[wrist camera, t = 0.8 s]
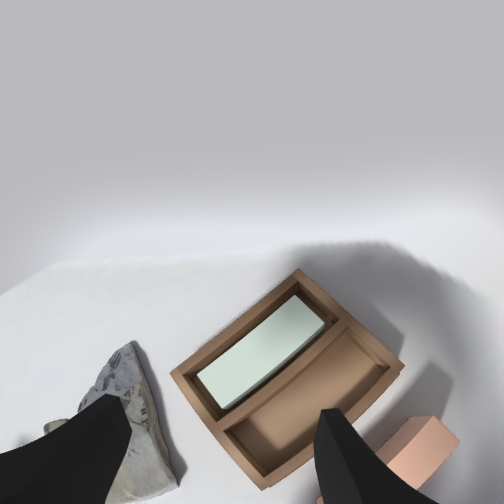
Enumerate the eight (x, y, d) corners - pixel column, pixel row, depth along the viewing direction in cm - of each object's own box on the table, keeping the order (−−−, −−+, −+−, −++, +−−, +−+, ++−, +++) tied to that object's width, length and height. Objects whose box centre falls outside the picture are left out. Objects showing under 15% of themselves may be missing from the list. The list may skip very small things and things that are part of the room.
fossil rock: (85, 514, 15) (71, 517, 13) (42, 405, 23) (28, 401, 21) (206, 477, 18) (196, 482, 16) (136, 345, 26) (123, 338, 24)
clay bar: (433, 439, 15) (460, 441, 11) (341, 520, 13) (348, 543, 9) (410, 416, 17) (433, 415, 13) (316, 498, 15) (317, 518, 11)
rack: (397, 375, 19) (408, 368, 17) (271, 485, 16) (265, 494, 14) (297, 281, 26) (295, 265, 23) (182, 375, 23) (166, 368, 20)
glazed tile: (323, 330, 22) (324, 323, 20) (229, 409, 20) (222, 408, 18) (296, 304, 24) (294, 294, 22) (205, 378, 22) (196, 374, 20)
